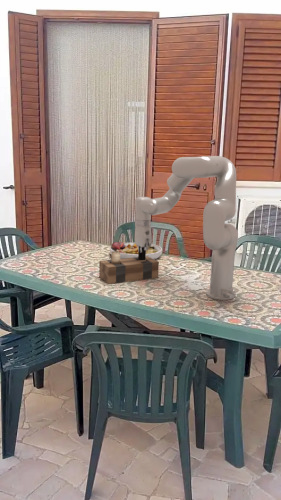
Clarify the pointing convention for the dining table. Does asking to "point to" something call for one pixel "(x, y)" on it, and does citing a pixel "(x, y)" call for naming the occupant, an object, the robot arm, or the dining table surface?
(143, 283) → the dining table surface
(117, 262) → the beech peg
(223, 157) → the robot arm
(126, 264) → the banded wooden block
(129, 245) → the bowl
